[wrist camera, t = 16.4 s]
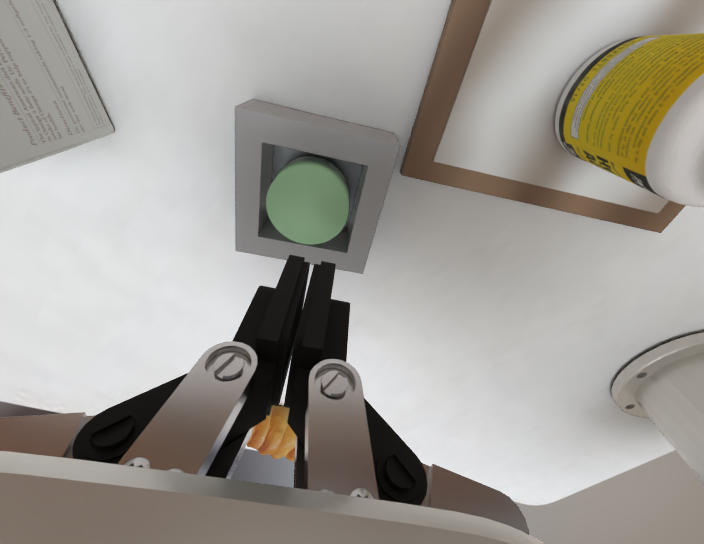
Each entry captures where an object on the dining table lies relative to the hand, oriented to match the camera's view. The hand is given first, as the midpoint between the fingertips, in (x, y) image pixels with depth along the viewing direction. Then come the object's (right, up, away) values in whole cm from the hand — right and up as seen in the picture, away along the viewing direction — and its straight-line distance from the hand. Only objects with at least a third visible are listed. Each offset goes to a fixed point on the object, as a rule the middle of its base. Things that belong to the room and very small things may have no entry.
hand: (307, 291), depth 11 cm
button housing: (-1, +6, +8) cm, 10 cm away
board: (+15, +10, +5) cm, 19 cm away
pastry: (-7, -16, +25) cm, 31 cm away
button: (-1, +5, +7) cm, 8 cm away
